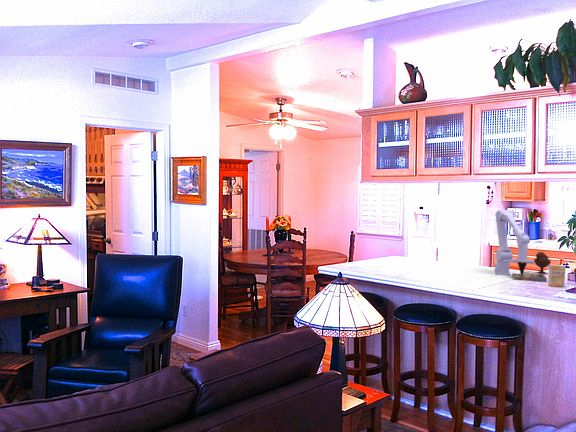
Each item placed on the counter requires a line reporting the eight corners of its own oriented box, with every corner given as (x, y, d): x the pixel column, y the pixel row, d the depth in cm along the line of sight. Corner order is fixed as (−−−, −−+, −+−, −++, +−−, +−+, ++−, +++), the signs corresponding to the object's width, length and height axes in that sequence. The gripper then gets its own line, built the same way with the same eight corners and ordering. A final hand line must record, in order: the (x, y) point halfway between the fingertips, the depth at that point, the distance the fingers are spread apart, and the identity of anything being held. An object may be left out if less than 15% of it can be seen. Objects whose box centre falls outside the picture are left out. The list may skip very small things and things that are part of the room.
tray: (531, 280, 365) (531, 277, 365) (528, 277, 379) (528, 273, 379) (546, 281, 362) (546, 278, 362) (543, 278, 376) (543, 274, 376)
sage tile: (523, 276, 371) (523, 272, 371) (522, 275, 375) (523, 271, 375) (530, 276, 370) (530, 272, 370) (529, 275, 374) (529, 271, 374)
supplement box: (550, 286, 346) (551, 265, 345) (547, 285, 351) (549, 264, 350) (564, 287, 345) (565, 265, 344) (561, 285, 350) (563, 264, 349)
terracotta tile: (530, 276, 370) (532, 273, 369) (529, 275, 374) (531, 272, 373) (536, 279, 369) (537, 275, 369) (535, 278, 373) (537, 275, 372)
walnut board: (514, 279, 368) (514, 276, 368) (512, 276, 382) (512, 273, 381) (530, 280, 365) (530, 277, 365) (528, 277, 379) (528, 274, 379)
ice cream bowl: (548, 275, 389) (549, 253, 388) (531, 273, 396) (532, 252, 395) (551, 273, 397) (553, 252, 396) (535, 271, 404) (536, 250, 403)
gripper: (511, 253, 371) (510, 274, 371) (535, 254, 366) (534, 275, 367) (510, 252, 377) (509, 272, 378) (534, 253, 373) (532, 273, 374)
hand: (521, 273), depth 373 cm, fingers closed
